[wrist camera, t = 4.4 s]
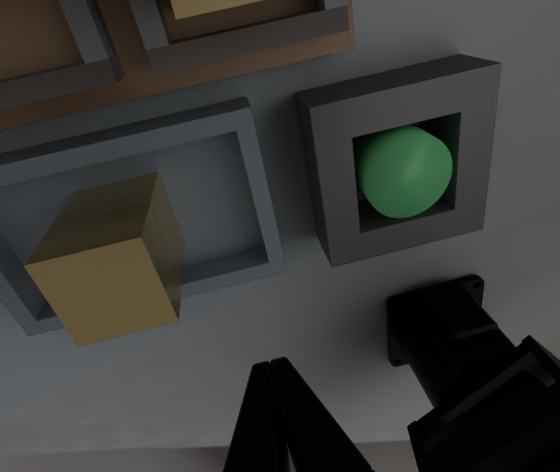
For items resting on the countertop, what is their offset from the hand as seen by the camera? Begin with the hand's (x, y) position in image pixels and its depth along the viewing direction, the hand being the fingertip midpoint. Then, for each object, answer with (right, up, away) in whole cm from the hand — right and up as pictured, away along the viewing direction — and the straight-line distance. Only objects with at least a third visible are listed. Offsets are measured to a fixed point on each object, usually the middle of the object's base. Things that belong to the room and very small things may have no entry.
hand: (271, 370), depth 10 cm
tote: (-7, +4, +10) cm, 13 cm away
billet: (-7, +4, +10) cm, 13 cm away
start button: (+6, +7, +10) cm, 14 cm away
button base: (+5, +8, +11) cm, 14 cm away
